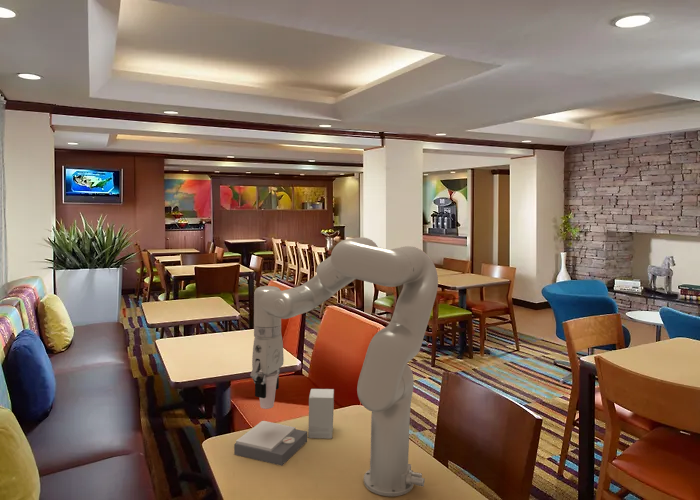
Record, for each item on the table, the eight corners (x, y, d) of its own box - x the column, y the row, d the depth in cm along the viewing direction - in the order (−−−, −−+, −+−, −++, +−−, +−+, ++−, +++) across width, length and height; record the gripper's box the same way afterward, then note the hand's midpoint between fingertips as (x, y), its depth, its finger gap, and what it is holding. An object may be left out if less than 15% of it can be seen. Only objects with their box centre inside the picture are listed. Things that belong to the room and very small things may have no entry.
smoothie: (273, 411, 140) (274, 362, 139) (251, 409, 142) (252, 360, 140) (281, 402, 147) (281, 355, 145) (260, 400, 148) (260, 353, 146)
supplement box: (332, 439, 151) (333, 398, 150) (307, 438, 151) (308, 397, 150) (333, 427, 158) (334, 388, 157) (309, 427, 158) (310, 388, 157)
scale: (307, 441, 149) (307, 428, 149) (282, 465, 135) (282, 452, 135) (262, 431, 154) (262, 419, 154) (234, 454, 141) (234, 441, 140)
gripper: (263, 340, 133) (262, 406, 134) (294, 325, 149) (293, 384, 150) (238, 336, 135) (238, 401, 137) (271, 322, 151) (271, 380, 153)
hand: (267, 392), depth 144 cm, fingers closed on smoothie, 6 cm apart
